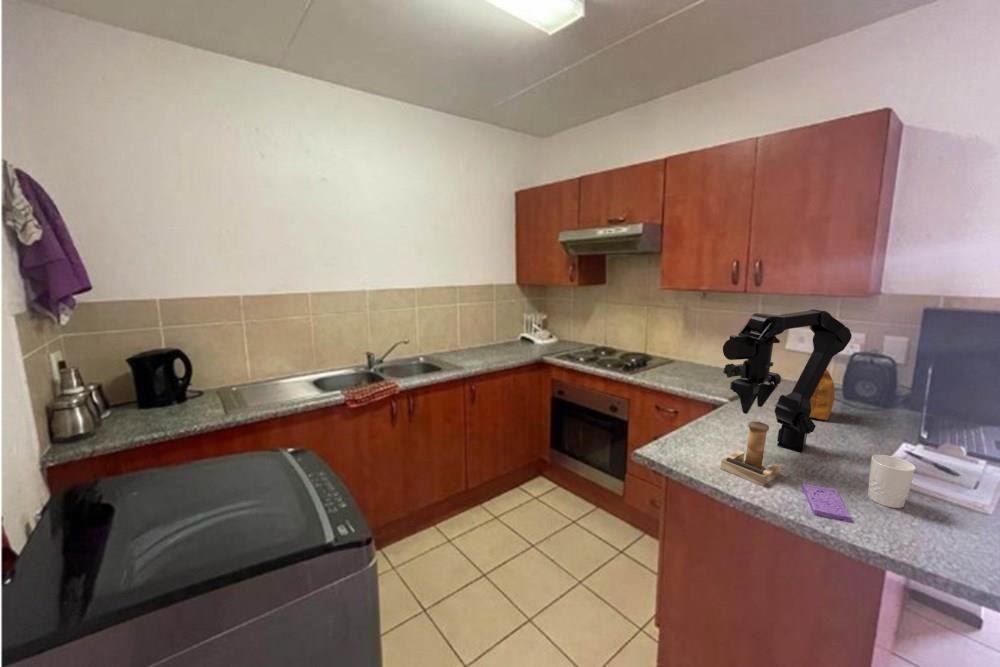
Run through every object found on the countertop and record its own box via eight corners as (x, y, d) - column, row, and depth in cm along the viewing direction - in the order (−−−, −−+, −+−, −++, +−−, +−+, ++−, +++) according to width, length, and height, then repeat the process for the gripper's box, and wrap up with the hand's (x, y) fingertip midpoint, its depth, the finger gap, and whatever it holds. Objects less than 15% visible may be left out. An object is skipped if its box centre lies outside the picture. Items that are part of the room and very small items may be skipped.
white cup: (856, 492, 111) (863, 455, 109) (885, 491, 112) (892, 454, 110) (885, 510, 104) (893, 471, 102) (916, 509, 104) (925, 469, 102)
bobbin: (765, 468, 123) (771, 423, 121) (765, 477, 118) (772, 431, 115) (740, 462, 126) (746, 419, 123) (739, 471, 121) (745, 426, 118)
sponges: (835, 496, 111) (836, 489, 110) (850, 524, 99) (851, 516, 99) (801, 489, 113) (802, 482, 113) (812, 516, 102) (814, 509, 102)
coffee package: (832, 413, 164) (842, 355, 159) (829, 423, 154) (839, 362, 150) (800, 407, 170) (809, 351, 166) (795, 416, 161) (804, 357, 156)
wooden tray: (738, 458, 128) (739, 447, 128) (779, 474, 120) (781, 463, 119) (720, 468, 122) (721, 457, 122) (762, 485, 114) (764, 474, 113)
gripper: (745, 348, 139) (739, 396, 142) (714, 356, 128) (709, 408, 131) (784, 355, 130) (777, 406, 133) (755, 365, 119) (748, 420, 122)
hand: (752, 410), depth 130 cm, fingers open, 9 cm apart
